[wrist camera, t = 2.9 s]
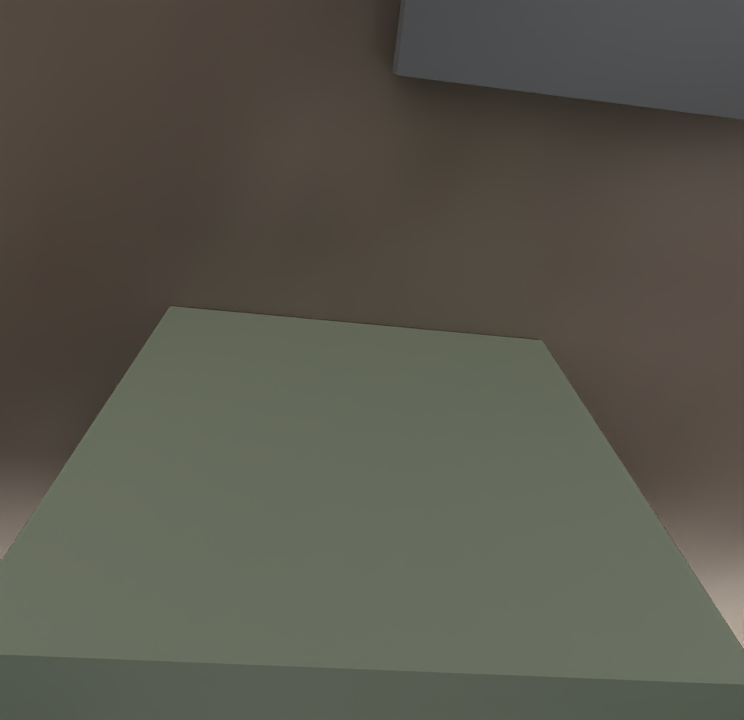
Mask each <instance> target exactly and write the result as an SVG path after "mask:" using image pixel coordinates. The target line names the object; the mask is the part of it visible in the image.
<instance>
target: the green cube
mask: <svg viewBox="0 0 744 720" xmlns="http://www.w3.org/2000/svg"><path fill="white" fill-rule="evenodd" d="M0 720H744V649H743V647H742V646H741V644H740V643H739V641H738V639H737V638H736V636H735V635H734V633H733V632H732V630H731V629H730V627H729V626H728V624H727V623H726V621H725V620H724V618H723V617H722V615H721V613H720V612H719V610H718V609H717V607H716V606H715V604H714V603H713V601H712V600H711V598H710V597H709V595H708V594H707V592H706V590H705V589H704V587H703V586H702V584H701V583H700V581H699V580H698V578H697V577H696V575H695V574H694V572H693V571H692V569H691V567H690V566H689V564H688V563H687V561H686V560H685V558H684V557H683V555H682V554H681V552H680V551H679V549H678V548H677V546H676V544H675V543H674V541H673V540H672V538H671V537H670V535H669V534H668V532H667V531H666V529H665V528H664V526H663V525H662V523H661V522H660V520H659V518H658V517H657V515H656V514H655V512H654V511H653V509H652V508H651V506H650V505H649V503H648V502H647V500H646V499H645V497H644V495H643V494H642V492H641V491H640V489H639V488H638V486H637V485H636V483H635V482H634V480H633V479H632V477H631V476H630V474H629V472H628V471H627V469H626V468H625V466H624V465H623V463H622V462H621V460H620V459H619V457H618V456H617V454H616V453H615V451H614V450H613V448H612V446H611V445H610V443H609V442H608V440H607V439H606V437H605V436H604V434H603V433H602V431H601V430H600V428H599V427H598V425H597V423H596V422H595V420H594V419H593V417H592V416H591V414H590V413H589V411H588V410H587V408H586V407H585V405H584V404H583V402H582V400H581V399H580V397H579V396H578V394H577V393H576V391H575V390H574V388H573V387H572V385H571V384H570V382H569V381H568V379H567V377H566V376H565V374H564V373H563V371H562V370H561V368H560V367H559V365H558V364H557V362H556V361H555V359H554V358H553V356H552V355H551V353H550V351H549V350H548V348H547V347H546V345H545V344H544V342H543V341H542V340H534V339H523V338H513V337H502V336H491V335H480V334H469V333H458V332H447V331H436V330H425V329H415V328H404V327H393V326H382V325H371V324H360V323H349V322H338V321H327V320H317V319H306V318H295V317H284V316H273V315H262V314H251V313H240V312H229V311H219V310H208V309H197V308H186V307H175V306H170V307H169V308H168V310H167V311H166V313H165V314H164V316H163V317H162V319H161V320H160V322H159V323H158V325H157V326H156V328H155V329H154V331H153V332H152V334H151V335H150V337H149V338H148V340H147V341H146V343H145V345H144V346H143V348H142V349H141V351H140V352H139V354H138V355H137V357H136V358H135V360H134V361H133V363H132V364H131V366H130V367H129V369H128V370H127V372H126V373H125V375H124V376H123V378H122V379H121V381H120V382H119V384H118V385H117V387H116V388H115V390H114V391H113V393H112V394H111V396H110V397H109V399H108V400H107V402H106V403H105V405H104V406H103V408H102V409H101V411H100V412H99V414H98V416H97V417H96V419H95V420H94V422H93V423H92V425H91V426H90V428H89V429H88V431H87V432H86V434H85V435H84V437H83V438H82V440H81V441H80V443H79V444H78V446H77V447H76V449H75V450H74V452H73V453H72V455H71V456H70V458H69V459H68V461H67V462H66V464H65V465H64V467H63V468H62V470H61V471H60V473H59V474H58V476H57V477H56V479H55V480H54V482H53V484H52V485H51V487H50V488H49V490H48V491H47V493H46V494H45V496H44V497H43V499H42V500H41V502H40V503H39V505H38V506H37V508H36V509H35V511H34V512H33V514H32V515H31V517H30V518H29V520H28V521H27V523H26V524H25V526H24V527H23V529H22V530H21V532H20V533H19V535H18V536H17V538H16V539H15V541H14V542H13V544H12V545H11V547H10V548H9V550H8V551H7V553H6V555H5V556H4V558H3V559H2V561H1V562H0Z"/></svg>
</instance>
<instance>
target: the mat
mask: <svg viewBox="0 0 744 720" xmlns="http://www.w3.org/2000/svg"><path fill="white" fill-rule="evenodd" d="M392 72H393V73H394V74H396V75H398V76H406V77H414V78H422V79H430V80H437V81H445V82H453V83H461V84H468V85H476V86H484V87H492V88H500V89H507V90H515V91H523V92H531V93H539V94H546V95H554V96H562V97H570V98H578V99H585V100H593V101H601V102H609V103H617V104H624V105H632V106H640V107H648V108H656V109H663V110H671V111H679V112H687V113H694V114H702V115H710V116H718V117H726V118H733V119H741V120H744V0H401V3H400V12H399V20H398V28H397V37H396V45H395V53H394V62H393V70H392Z"/></svg>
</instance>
